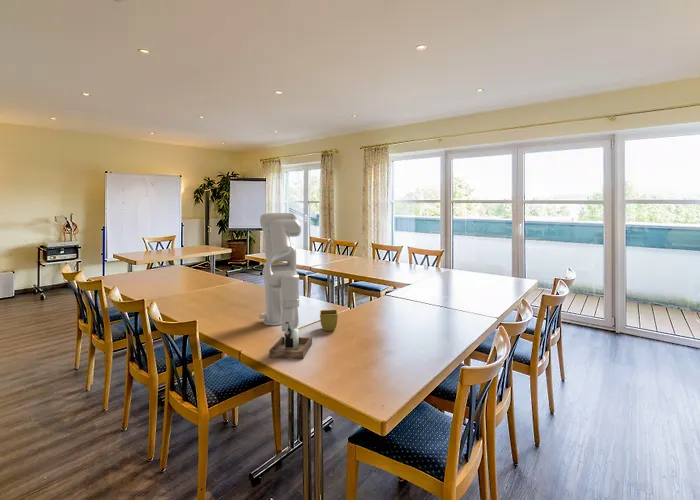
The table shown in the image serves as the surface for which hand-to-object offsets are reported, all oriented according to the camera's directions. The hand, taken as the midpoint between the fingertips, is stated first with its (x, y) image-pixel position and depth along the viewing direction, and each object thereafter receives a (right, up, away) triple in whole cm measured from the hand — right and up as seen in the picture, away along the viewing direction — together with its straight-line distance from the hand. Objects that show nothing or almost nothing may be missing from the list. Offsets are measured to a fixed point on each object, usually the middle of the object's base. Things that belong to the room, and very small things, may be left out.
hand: (291, 343), depth 151 cm
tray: (0, -3, 0) cm, 3 cm away
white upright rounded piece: (0, -2, 0) cm, 2 cm away
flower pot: (+14, 0, +27) cm, 30 cm away
